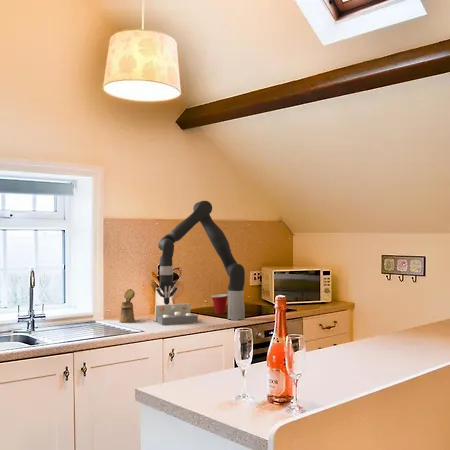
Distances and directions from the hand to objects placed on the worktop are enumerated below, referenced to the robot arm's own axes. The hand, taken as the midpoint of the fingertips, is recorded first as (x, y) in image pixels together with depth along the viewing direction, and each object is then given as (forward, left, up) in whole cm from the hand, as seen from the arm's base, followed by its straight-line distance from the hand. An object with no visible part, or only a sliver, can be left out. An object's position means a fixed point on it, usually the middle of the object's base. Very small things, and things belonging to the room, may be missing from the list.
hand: (166, 304), depth 321 cm
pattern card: (-7, -9, -11) cm, 16 cm away
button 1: (0, 0, -9) cm, 9 cm away
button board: (-7, 0, -11) cm, 13 cm away
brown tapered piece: (+17, -18, -11) cm, 27 cm away
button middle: (-7, 0, -7) cm, 10 cm away
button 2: (-14, 0, -9) cm, 16 cm away
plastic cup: (-44, -22, -11) cm, 50 cm away
